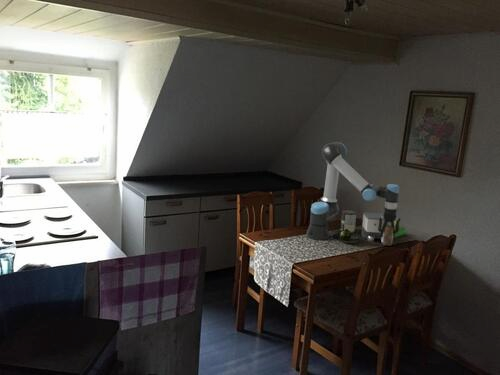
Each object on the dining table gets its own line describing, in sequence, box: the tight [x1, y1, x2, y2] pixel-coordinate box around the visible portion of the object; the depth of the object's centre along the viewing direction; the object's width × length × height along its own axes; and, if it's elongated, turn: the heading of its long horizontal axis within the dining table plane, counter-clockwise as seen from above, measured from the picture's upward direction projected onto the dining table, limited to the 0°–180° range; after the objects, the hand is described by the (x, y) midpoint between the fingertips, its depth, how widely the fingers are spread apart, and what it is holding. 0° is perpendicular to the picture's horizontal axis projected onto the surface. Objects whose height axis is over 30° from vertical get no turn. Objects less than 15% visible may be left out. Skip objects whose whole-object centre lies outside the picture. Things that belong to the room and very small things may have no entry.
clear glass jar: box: [340, 209, 357, 233], centre depth 308 cm, size 10×10×14 cm
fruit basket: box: [394, 221, 407, 238], centre depth 302 cm, size 11×9×11 cm
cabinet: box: [360, 211, 396, 240], centre depth 289 cm, size 19×16×17 cm
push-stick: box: [379, 225, 393, 246], centre depth 281 cm, size 5×15×12 cm, turn 177°
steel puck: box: [367, 235, 376, 242], centre depth 288 cm, size 4×4×3 cm
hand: (386, 242), depth 277 cm, fingers closed on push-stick, 5 cm apart
